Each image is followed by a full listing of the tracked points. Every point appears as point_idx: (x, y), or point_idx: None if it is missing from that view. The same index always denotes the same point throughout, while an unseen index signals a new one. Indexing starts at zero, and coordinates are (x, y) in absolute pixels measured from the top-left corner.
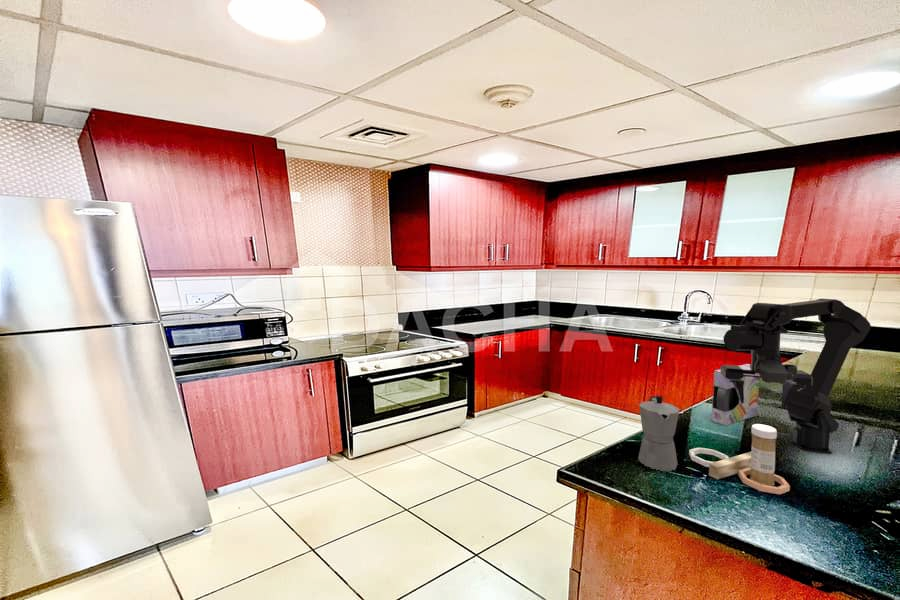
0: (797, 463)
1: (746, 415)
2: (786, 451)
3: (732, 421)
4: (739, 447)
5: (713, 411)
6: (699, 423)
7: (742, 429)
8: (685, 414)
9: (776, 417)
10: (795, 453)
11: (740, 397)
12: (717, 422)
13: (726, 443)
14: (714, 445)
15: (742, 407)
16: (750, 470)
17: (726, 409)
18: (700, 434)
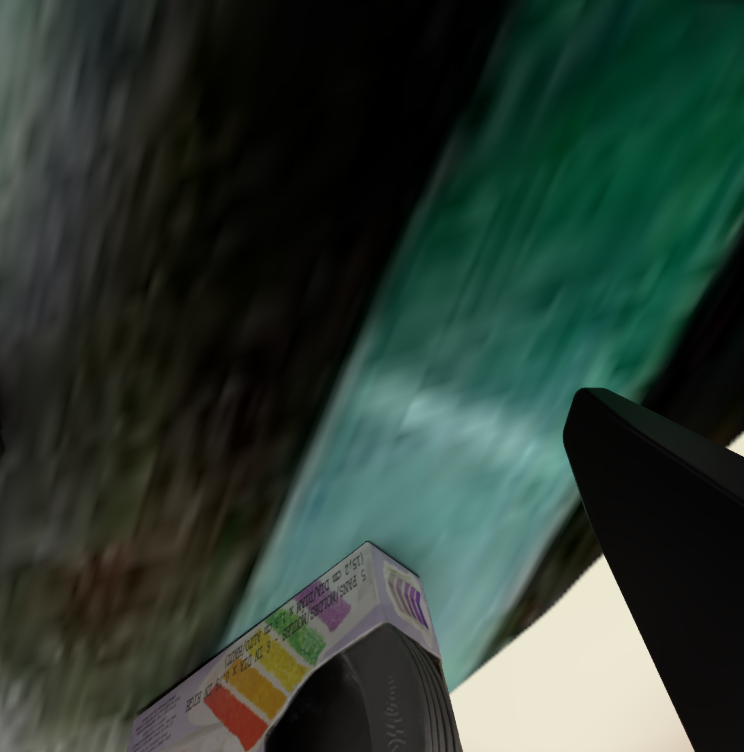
0: (52, 2)
1: (205, 683)
2: (86, 248)
3: (309, 596)
4: (416, 210)
5: (431, 632)
6: (509, 526)
7: (277, 524)
8: (529, 617)
9: (30, 734)
10: (26, 230)
11: (699, 438)
12: (399, 564)
13: (481, 257)
14: (590, 188)
15: (235, 721)
16: None
17: (374, 645)
18: (590, 360)
